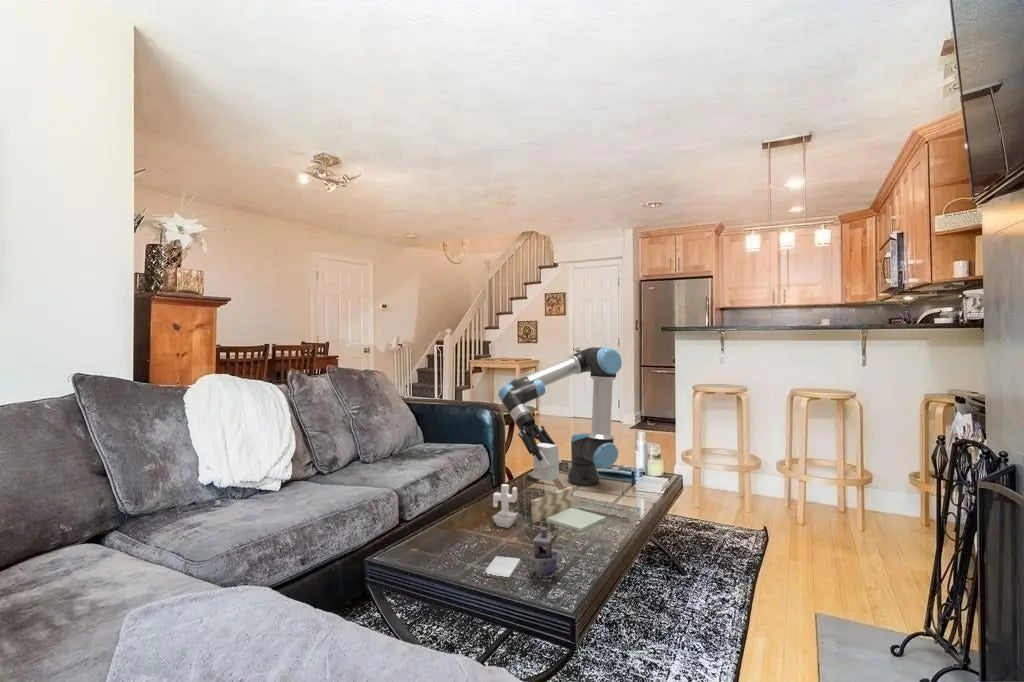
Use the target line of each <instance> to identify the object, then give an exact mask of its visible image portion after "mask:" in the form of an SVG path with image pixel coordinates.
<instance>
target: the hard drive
mask: <svg viewBox="0 0 1024 682" xmlns="http://www.w3.org/2000/svg"><path fill="white" fill-rule="evenodd" d="M521 561H522V560H521V559H520V558H517V557H506V556H502V555H501V556H498V555H496V556H494V557H493V560H492V561H491V562H490V563H489V564H488V566H487V568H485V570H486V571H485V570H484V571H485V572H487V574H492V575H496V576H503V577H510V576H511V574H512V573H513V572H514V570H515V569H516V568H517V569H518V567H519V566H518V565H520V564H519V563H522V562H521ZM517 566H518V567H517ZM517 569H516V570H517ZM516 570H515V571H516ZM514 573H515V572H514ZM514 573H513V574H514Z"/></svg>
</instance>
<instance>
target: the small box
mask: <svg viewBox="0 0 1024 682" xmlns="http://www.w3.org/2000/svg"><path fill="white" fill-rule="evenodd" d="M537 446H538V449H539V451H541V452H542V453H543V455H544V456H545V458H546V459H547V461H548V462H549V464H550V465H549V466H548V467H547V468H546V469H544V467H543V465H542V464H541V462H540V461H539V460H538V459H537V457H536V455H534V456H533V455H532V456H533V457H532V458H533V459H532V460H533V478H535V479H539V480H542V481H545V482H546V481H547V482H551V481H554V480H556V479H557V480H558V479H559V478H560V475H559V474H560V471H559V469H560V468H559V467H560V463H559V458H560V457H559V445H558V444H555V445H553V444H547V443H541V442H540V443H537Z"/></svg>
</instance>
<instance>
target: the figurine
mask: <svg viewBox="0 0 1024 682" xmlns="http://www.w3.org/2000/svg"><path fill="white" fill-rule="evenodd" d="M500 489H501V491H500V492H494V493H493V494H492V495H493V497H492V506H493V508H498V505H499V501H500V502H501V510H499V511H498V512H497V513H496V514H494V515H493V516H491V518H492V519H493V520H494V523H495V524H496V526H497V527H500V528H506V529H507V528H510V527H511V526H512V525H513V524H514V522H515V520H516V518H517V516H518V512H511V511H509V510H510V509H509V506H510V505H509V503H516V502H517V501H518V500H517V499H518V488H517V487H516V486H514V487H512V490H511V494H510V493H509V490H510V485H509V484H507V483H505V484H504V483H503V484H501V487H500Z"/></svg>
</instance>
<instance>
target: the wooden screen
mask: <svg viewBox="0 0 1024 682" xmlns="http://www.w3.org/2000/svg"><path fill="white" fill-rule="evenodd" d="M569 508H574V487H572V486H567V487H564V488H562V489H560V490H557V491H554V492H551V493H549V494H545V495H542V496H540V497H538V498H535V499H532V500H531V523H534V524H535V523H538V522H541V521H542V520H543V521H544V520H546V518H548V517H550V516H553V515H555V514H557V513H560V512H562V511H565V510H567V509H569Z"/></svg>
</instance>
